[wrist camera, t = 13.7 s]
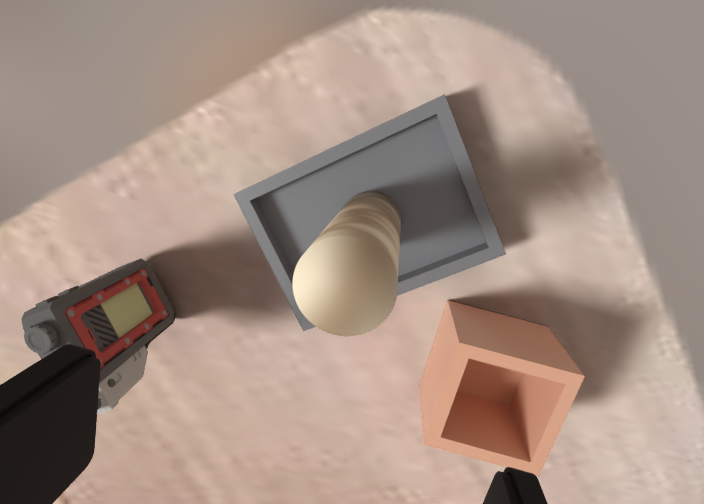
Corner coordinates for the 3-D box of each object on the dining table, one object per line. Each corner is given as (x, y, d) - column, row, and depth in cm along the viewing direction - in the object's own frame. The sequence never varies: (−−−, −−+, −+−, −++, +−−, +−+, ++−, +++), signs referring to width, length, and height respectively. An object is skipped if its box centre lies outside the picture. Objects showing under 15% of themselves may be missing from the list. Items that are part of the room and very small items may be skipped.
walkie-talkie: (195, 332, 42) (21, 502, 23) (157, 344, 43) (-42, 518, 23) (154, 250, 40) (-75, 359, 21) (115, 265, 41) (-139, 383, 22)
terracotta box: (547, 326, 38) (584, 376, 30) (512, 410, 40) (539, 476, 33) (447, 300, 38) (459, 342, 30) (419, 385, 41) (423, 444, 33)
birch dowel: (407, 199, 35) (409, 251, 19) (392, 256, 36) (382, 347, 21) (348, 184, 35) (303, 225, 20) (335, 242, 36) (284, 321, 21)
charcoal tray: (441, 97, 34) (444, 94, 31) (498, 245, 36) (505, 254, 33) (245, 189, 37) (233, 194, 35) (309, 317, 40) (303, 331, 37)
